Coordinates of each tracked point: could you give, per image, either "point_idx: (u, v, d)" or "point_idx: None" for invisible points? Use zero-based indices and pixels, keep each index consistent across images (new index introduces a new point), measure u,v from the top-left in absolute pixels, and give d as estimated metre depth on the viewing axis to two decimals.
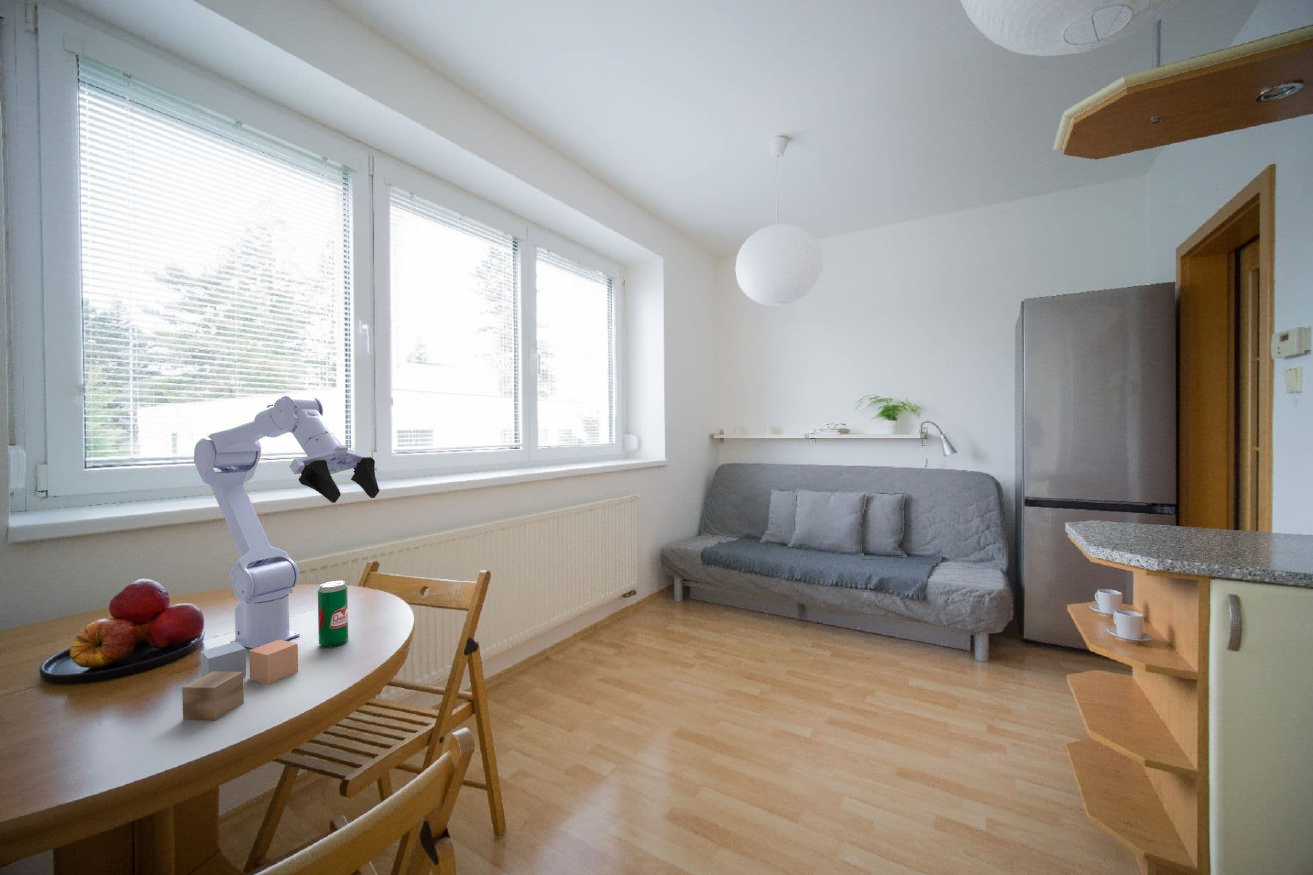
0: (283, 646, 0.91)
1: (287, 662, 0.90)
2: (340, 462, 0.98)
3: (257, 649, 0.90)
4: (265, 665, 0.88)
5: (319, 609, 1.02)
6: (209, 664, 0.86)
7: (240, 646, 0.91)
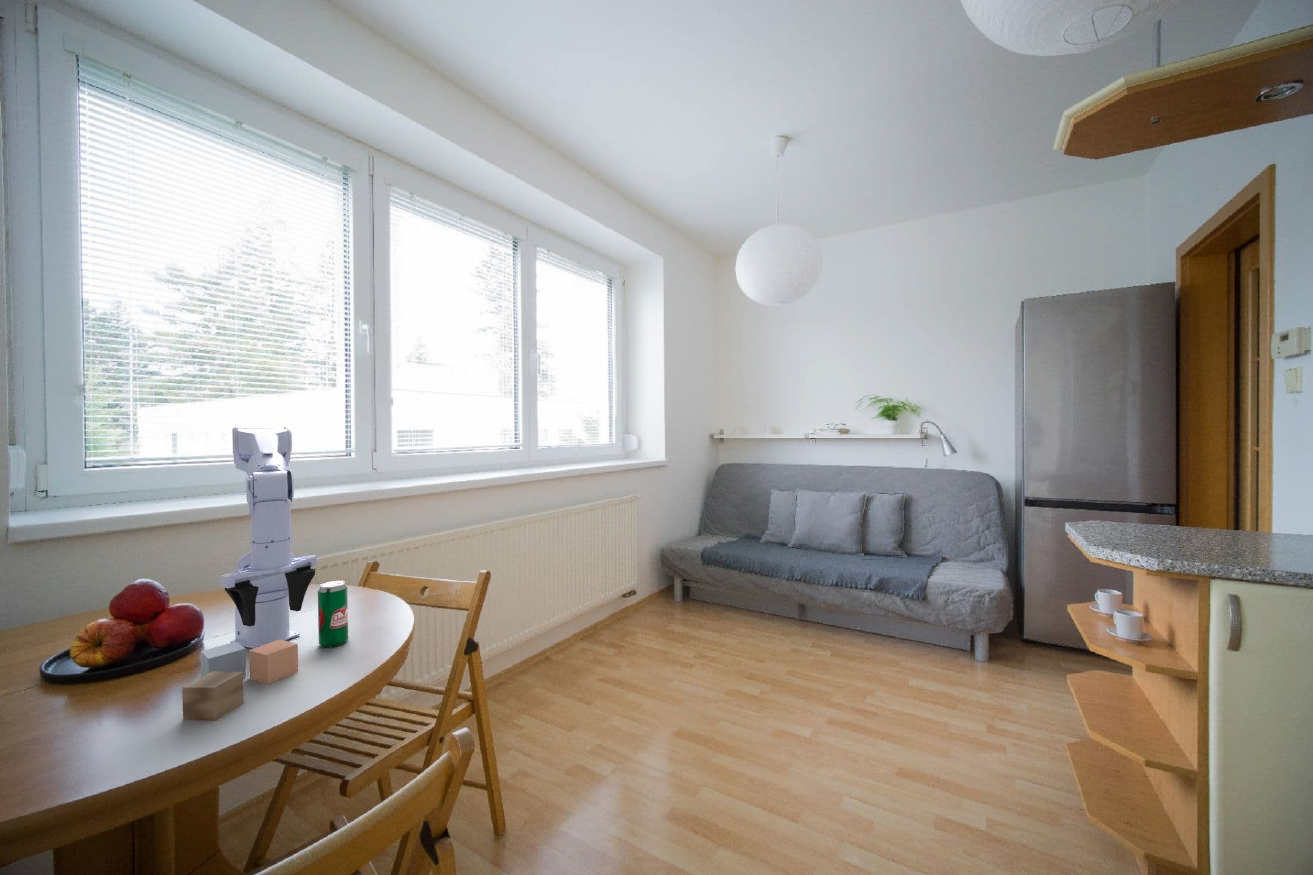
0: (283, 646, 0.91)
1: (287, 662, 0.90)
2: None
3: (257, 649, 0.90)
4: (265, 665, 0.88)
5: (319, 609, 1.02)
6: (209, 664, 0.86)
7: (240, 646, 0.91)
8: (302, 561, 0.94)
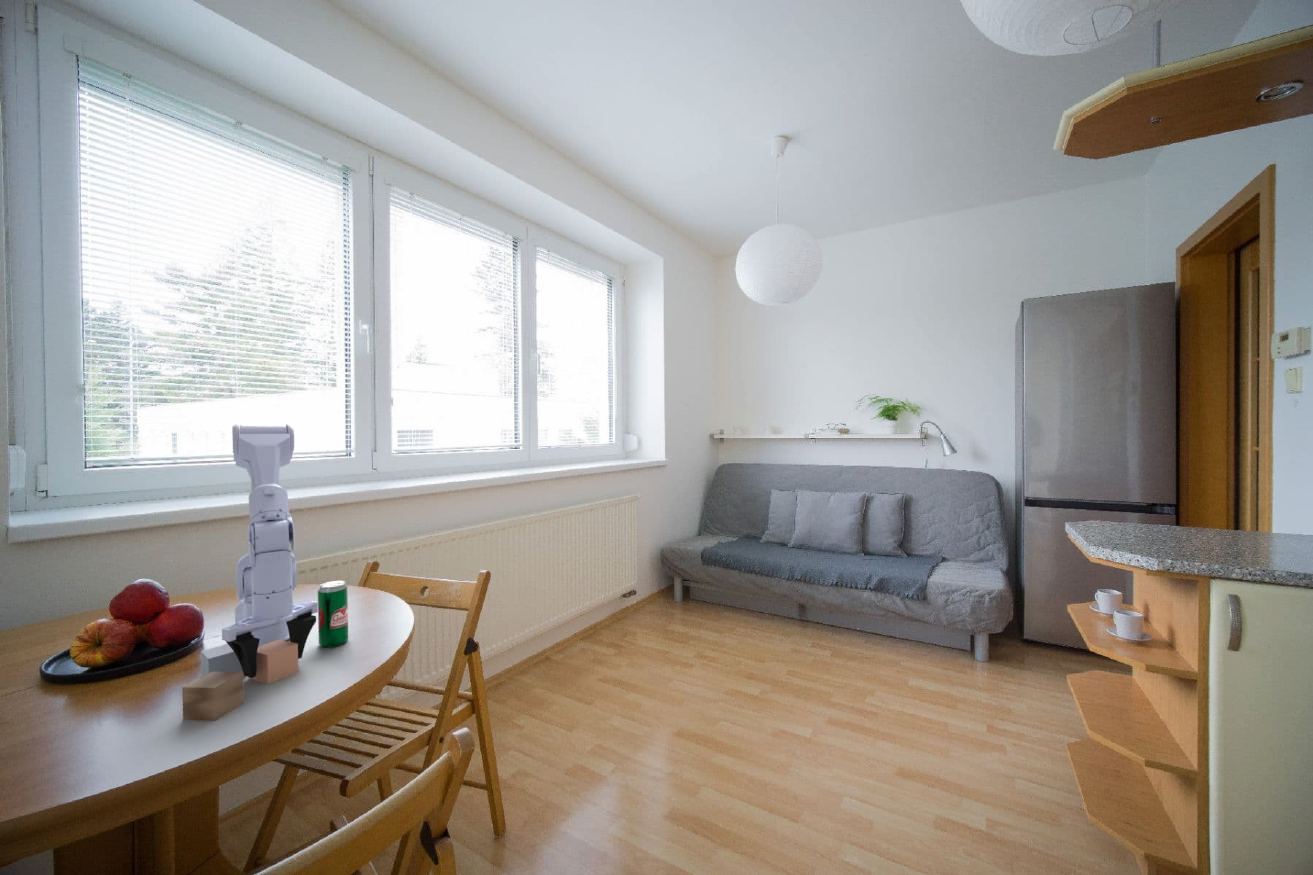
0: (283, 646, 0.91)
1: (287, 662, 0.90)
2: None
3: (257, 649, 0.90)
4: (265, 665, 0.88)
5: (319, 609, 1.02)
6: (209, 664, 0.86)
7: None
8: (303, 609, 0.94)
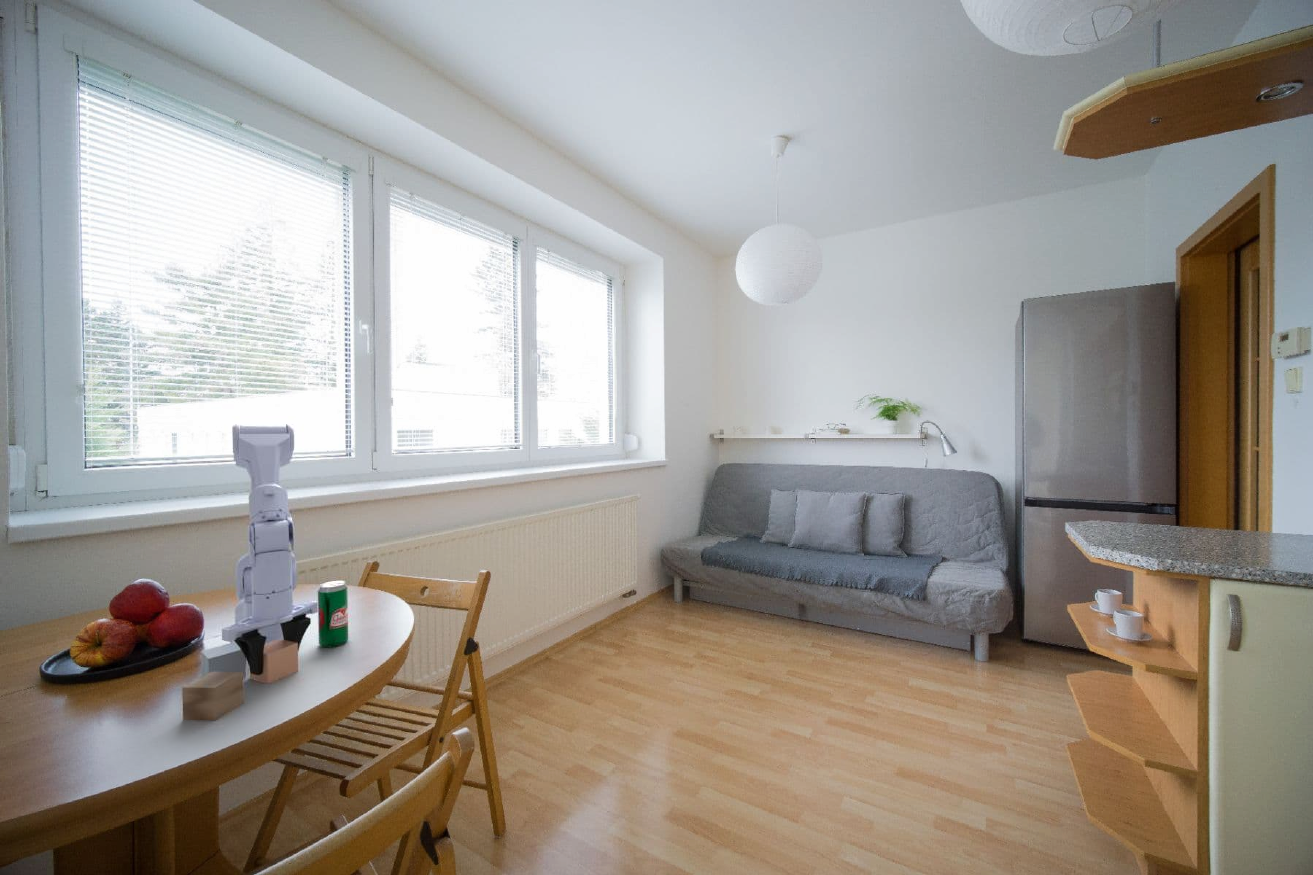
0: (283, 646, 0.91)
1: (287, 661, 0.90)
2: None
3: None
4: (265, 664, 0.88)
5: (319, 609, 1.02)
6: (209, 664, 0.86)
7: None
8: (303, 609, 0.94)
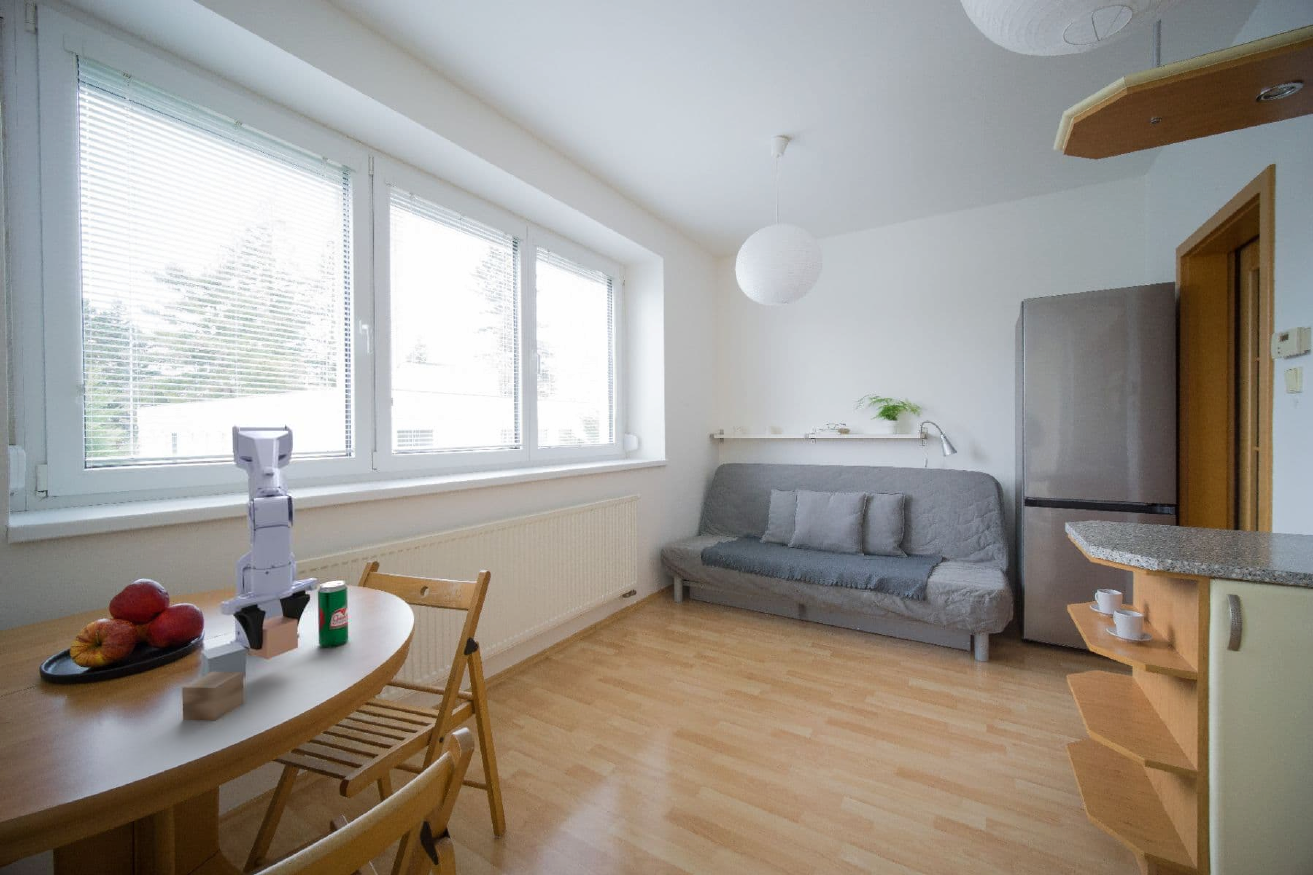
0: (283, 622, 0.91)
1: (287, 637, 0.90)
2: None
3: None
4: (265, 640, 0.88)
5: (319, 609, 1.02)
6: (209, 664, 0.86)
7: (240, 646, 0.91)
8: (302, 585, 0.94)
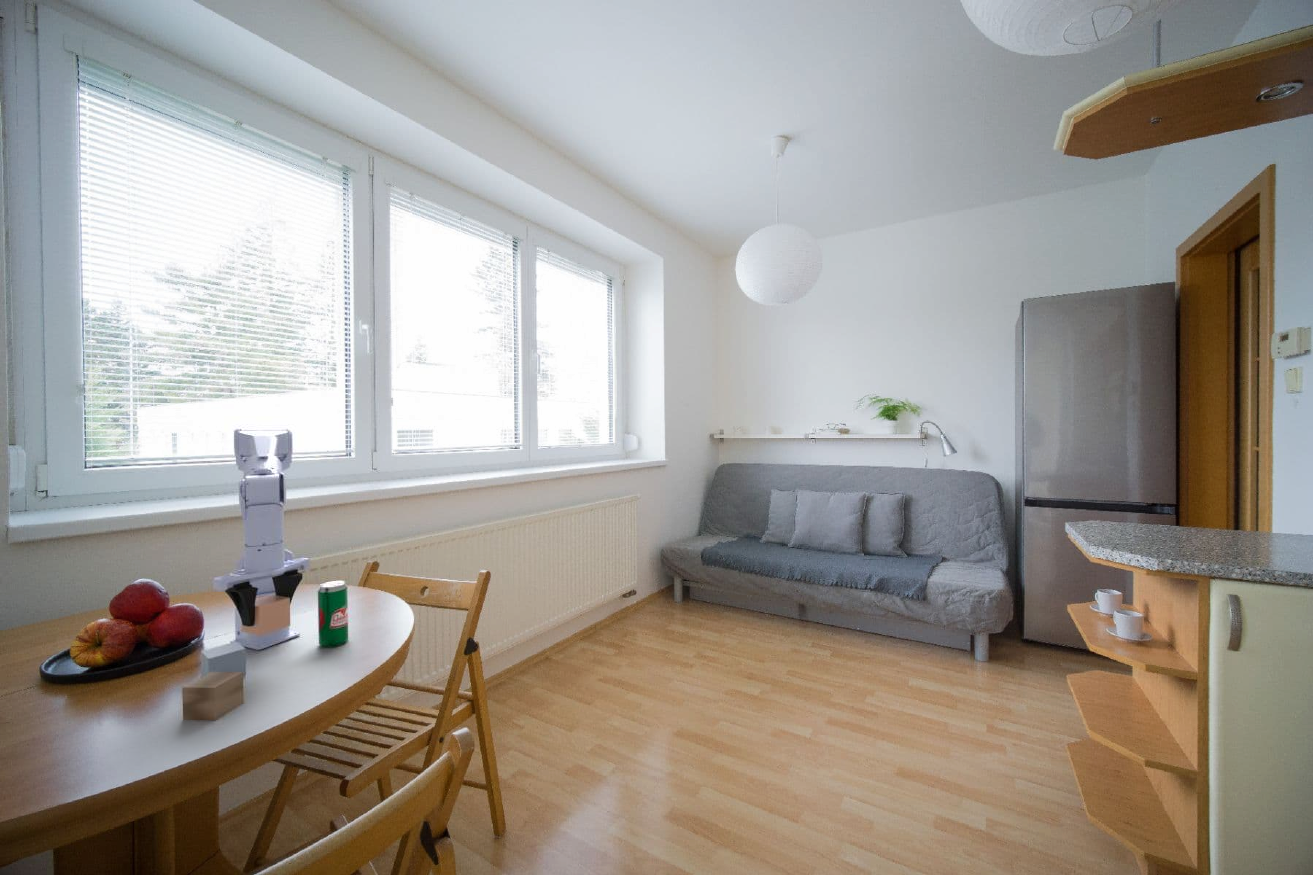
0: (275, 600, 0.91)
1: (279, 615, 0.91)
2: None
3: None
4: (257, 617, 0.88)
5: (319, 609, 1.02)
6: (209, 664, 0.86)
7: (240, 646, 0.91)
8: (295, 564, 0.94)
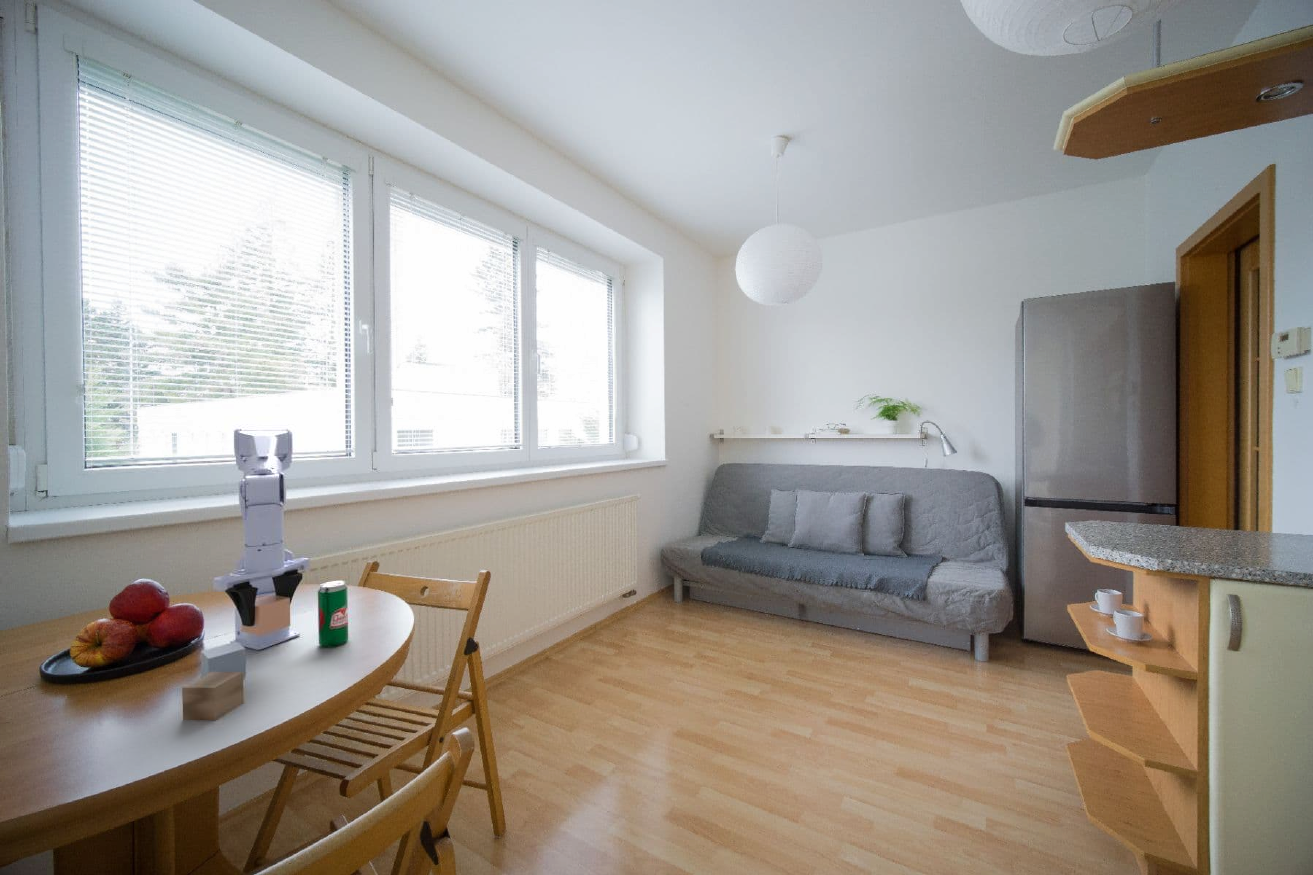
0: (275, 600, 0.91)
1: (279, 615, 0.91)
2: None
3: None
4: (257, 617, 0.88)
5: (319, 609, 1.02)
6: (209, 664, 0.86)
7: (240, 646, 0.91)
8: (295, 564, 0.94)
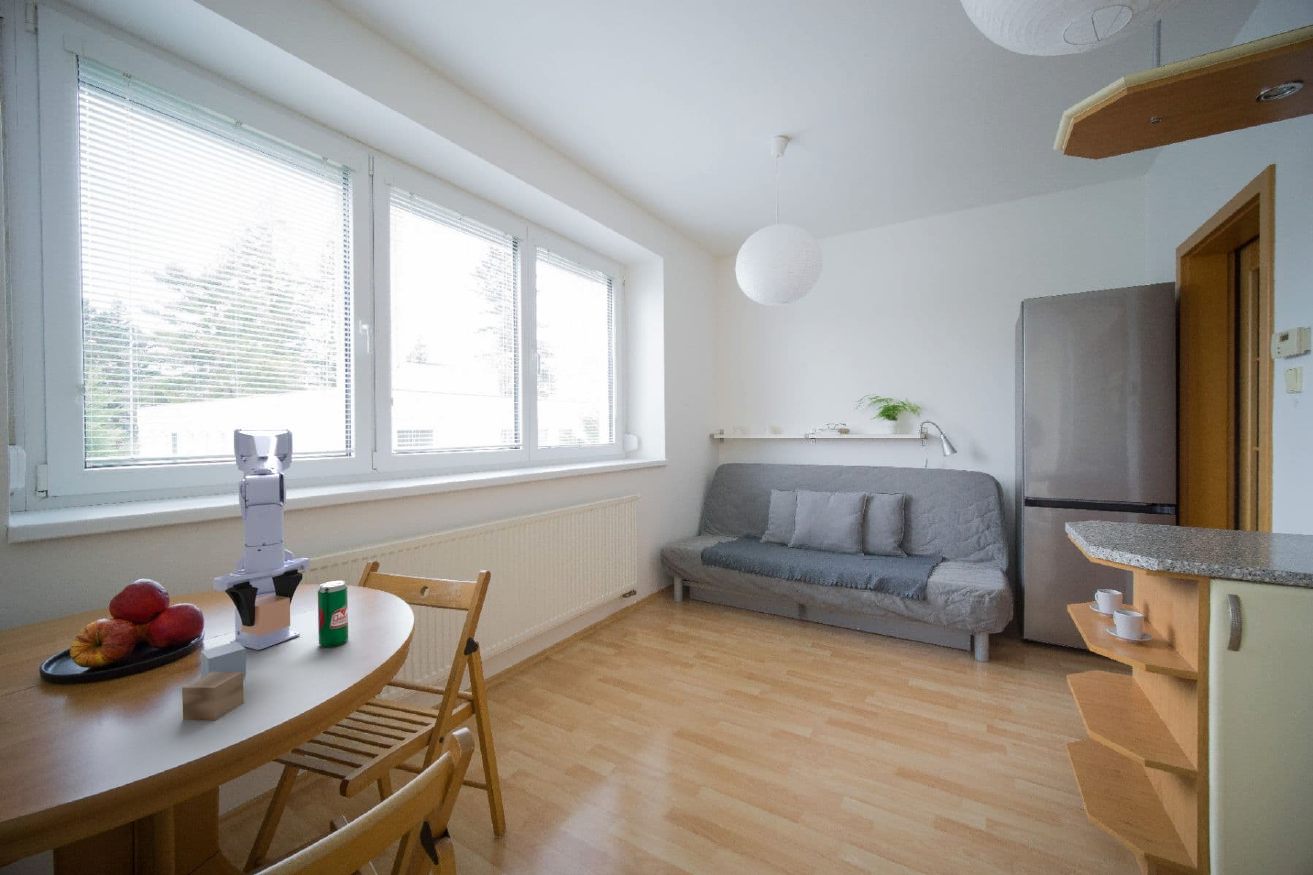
0: (275, 600, 0.91)
1: (279, 615, 0.91)
2: None
3: None
4: (257, 617, 0.88)
5: (319, 609, 1.02)
6: (209, 664, 0.86)
7: (240, 646, 0.91)
8: (295, 564, 0.94)
